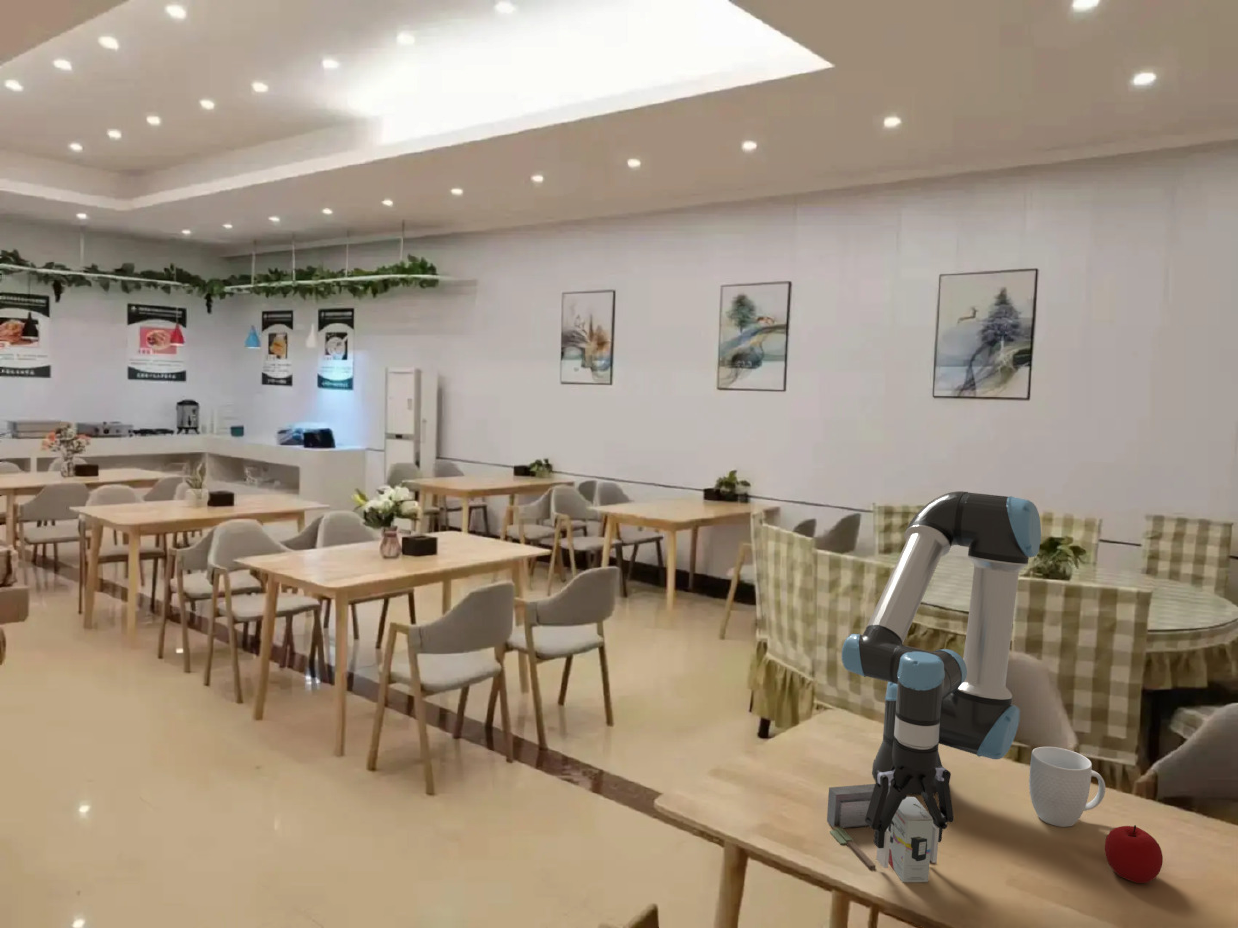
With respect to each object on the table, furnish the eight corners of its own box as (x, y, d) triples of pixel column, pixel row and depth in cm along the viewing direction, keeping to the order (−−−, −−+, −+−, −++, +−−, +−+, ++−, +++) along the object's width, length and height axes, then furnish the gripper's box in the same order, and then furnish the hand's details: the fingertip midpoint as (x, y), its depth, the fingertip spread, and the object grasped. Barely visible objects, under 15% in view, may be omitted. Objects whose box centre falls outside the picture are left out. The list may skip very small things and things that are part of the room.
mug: (1085, 806, 183) (1091, 747, 182) (1116, 834, 172) (1123, 771, 171) (1015, 805, 183) (1021, 745, 181) (1043, 832, 172) (1048, 769, 170)
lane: (900, 822, 173) (900, 819, 173) (941, 861, 160) (941, 857, 160) (827, 829, 170) (827, 825, 170) (863, 869, 156) (863, 865, 156)
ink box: (883, 856, 161) (887, 795, 160) (909, 855, 162) (913, 795, 160) (902, 883, 153) (907, 819, 151) (929, 882, 153) (934, 819, 152)
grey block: (885, 815, 176) (888, 782, 175) (895, 824, 173) (897, 791, 172) (826, 821, 173) (829, 787, 172) (835, 830, 170) (837, 796, 169)
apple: (1173, 887, 155) (1179, 833, 154) (1132, 894, 152) (1138, 839, 151) (1129, 859, 163) (1134, 808, 162) (1090, 865, 161) (1095, 813, 160)
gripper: (956, 728, 161) (947, 844, 163) (849, 735, 156) (841, 855, 158) (982, 746, 153) (972, 867, 156) (870, 753, 148) (862, 878, 151)
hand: (906, 860), depth 157 cm, fingers open, 9 cm apart
